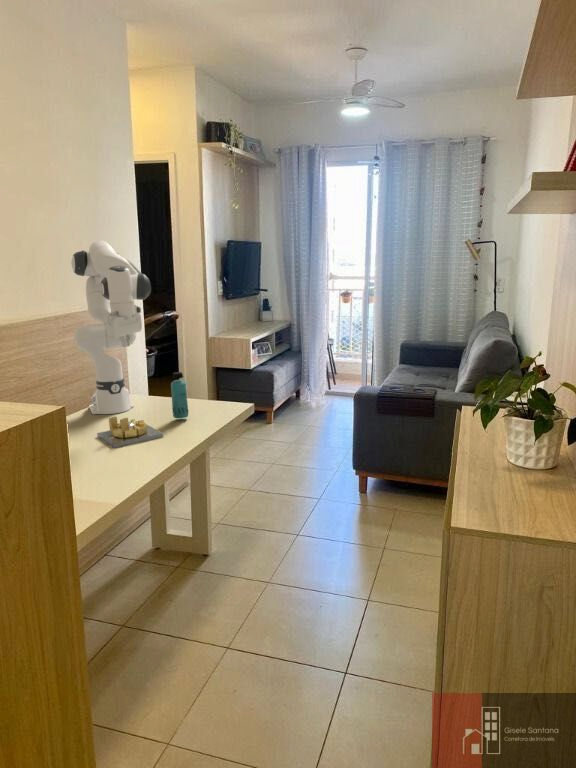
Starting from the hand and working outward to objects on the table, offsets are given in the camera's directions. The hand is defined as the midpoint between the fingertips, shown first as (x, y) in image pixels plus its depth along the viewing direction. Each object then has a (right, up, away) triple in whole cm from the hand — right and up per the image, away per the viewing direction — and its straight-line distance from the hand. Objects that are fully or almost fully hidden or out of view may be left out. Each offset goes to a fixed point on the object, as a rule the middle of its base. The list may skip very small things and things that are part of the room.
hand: (126, 346), depth 215 cm
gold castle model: (+2, -34, -2) cm, 34 cm away
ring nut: (+2, -33, -3) cm, 33 cm away
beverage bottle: (+17, -29, +19) cm, 39 cm away
